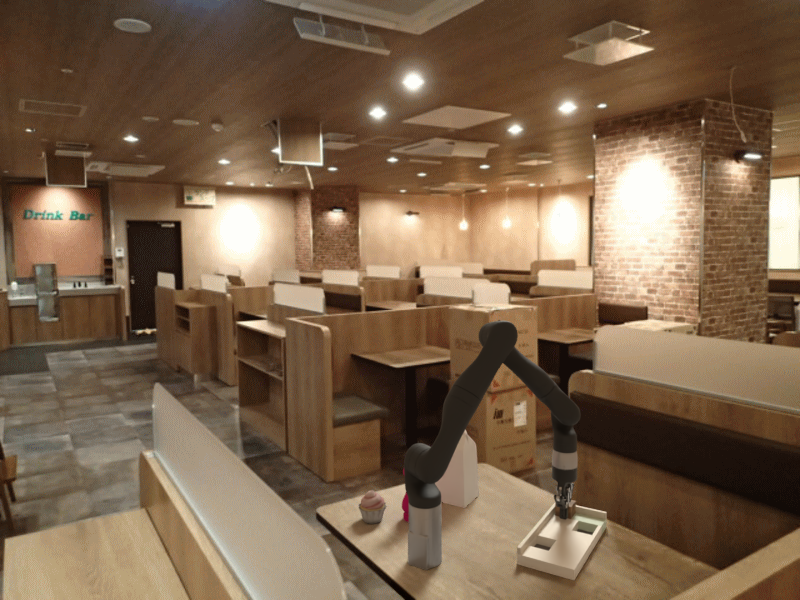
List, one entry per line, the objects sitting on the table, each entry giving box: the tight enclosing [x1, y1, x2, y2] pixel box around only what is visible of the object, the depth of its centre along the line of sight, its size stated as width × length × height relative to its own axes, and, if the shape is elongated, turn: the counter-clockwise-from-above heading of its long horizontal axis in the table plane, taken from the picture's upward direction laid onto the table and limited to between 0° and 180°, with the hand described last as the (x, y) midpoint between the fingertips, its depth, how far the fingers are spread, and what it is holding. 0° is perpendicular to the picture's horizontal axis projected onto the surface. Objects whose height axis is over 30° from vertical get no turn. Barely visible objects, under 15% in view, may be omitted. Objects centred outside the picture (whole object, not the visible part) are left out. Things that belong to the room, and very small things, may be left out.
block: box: [554, 499, 577, 519], centre depth 196 cm, size 5×5×4 cm
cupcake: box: [358, 489, 388, 525], centre depth 201 cm, size 9×9×10 cm
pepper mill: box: [401, 468, 409, 523], centre depth 201 cm, size 7×7×20 cm
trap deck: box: [516, 502, 608, 581], centre depth 183 cm, size 34×16×5 cm, turn 148°
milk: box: [435, 428, 480, 509], centre depth 215 cm, size 12×12×26 cm
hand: (563, 518), depth 192 cm, fingers closed
